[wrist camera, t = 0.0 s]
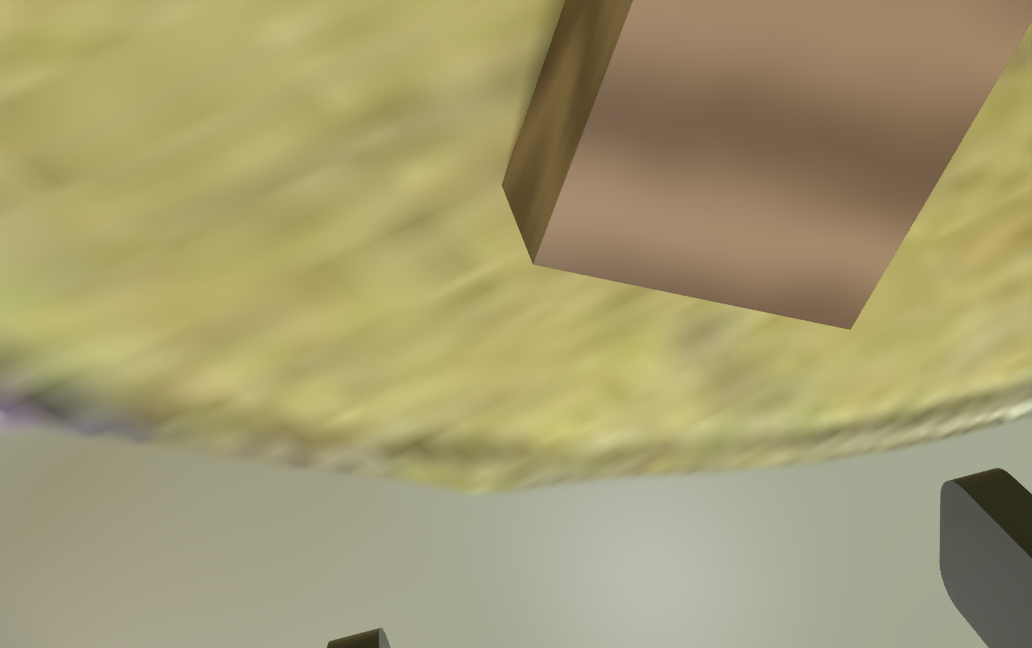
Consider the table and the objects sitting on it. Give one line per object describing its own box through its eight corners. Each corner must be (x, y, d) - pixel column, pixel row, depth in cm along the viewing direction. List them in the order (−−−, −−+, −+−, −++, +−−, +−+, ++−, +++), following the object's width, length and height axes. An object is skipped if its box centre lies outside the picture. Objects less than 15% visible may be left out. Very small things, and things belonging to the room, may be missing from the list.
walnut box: (622, -173, 29) (688, -145, 24) (937, -55, 32) (1049, -9, 28) (500, 182, 34) (533, 264, 29) (780, 247, 38) (850, 329, 33)
